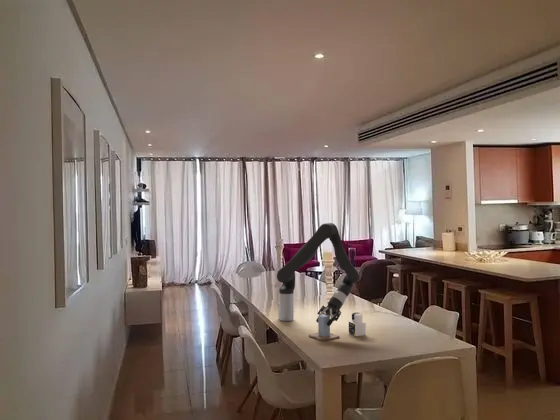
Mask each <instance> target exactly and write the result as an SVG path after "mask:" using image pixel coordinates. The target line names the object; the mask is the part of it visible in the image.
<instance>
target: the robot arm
mask: <svg viewBox="0 0 560 420" xmlns="http://www.w3.org/2000/svg"><path fill="white" fill-rule="evenodd" d="M327 239H329V240H330V243H331V244H332V246H333V252H334V257H335V259H336V263H337V264H338V266H339V268H340V270H341V271H343V272H344V273H345V276H344V277H343V279H342V281H341V283H340V285H339V286H338V287H337V289H336V291H334V293H333V294H332V295H331V297H330V299H329V301H328V302H327V306H325V305H322V306H321V307H320V309H319V310H318V312H317V315H318V316H319V315H323V314H325V315H328V316H330V319H329V321H328V322H327V326H331V325H332V324H333V322H337V321H338V319H339V318H340V316H341V315H342V311H341V308H342V307H343V305H344V303H345V302H346V300H347V298H348V296H350V294H351V290H352V288H353V286H354V285H355V284H356V283H358V282H359V281H360V274H359V272H358V270H357V269H356V268H355V266H354V265H353V264H352V263H351V260H350V257H349V256H348V254H347V252H346V249H345V247H344V245H343V242H342V239H341V235H340V232H339V229H338V227H337V225H336V224H335V223H333V222H325V223H322V224H321V225H320V226H319V227H318V228H317V229H316V231H315V232H314V233H313V235H312V236H311V237H310V238H309V239H308V240H307V241H306V242H305V244H303V245H302V246H301V247H300V248H299V249H298V251H297V252H296V253H295V254H294V255H293V256H292V258H291V259H290V260H289V261H288V262H287V263H286V264H285V265H284V266H282V267H281V268H280V269H279V270H278V271H277V273H276V279H277V281H278V282H280V283H281V284H282V285H281V286H280V287H279V291H278V294H279V297H278V302H279V303H278V311H277V312H278V313H277V315H278V316H277V317H278V320H279V321H281V322H293V321H294V317H295V316H294V315H295V314H294V313H295V311H294V309H295V307H294V303H295V302H294V300H295V299H294V296H295V294H294V292H295V289H296V287H295V286H296V271H297V270H299V269H300V268H302V267H303V266H304V265H306V264H308V263H309V262H310V261H311V260H312V259H313V258H314V256H315V255H316V254H317V252H318V249H319V247H320V246H321V245H322V244H323V243H324V242H325V241H326V240H327ZM315 322H316V323H317V324H318V317H317V318H316V320H315Z"/></svg>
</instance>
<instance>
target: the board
mask: <svg viewBox="0 0 560 420" xmlns="http://www.w3.org/2000/svg"><path fill="white" fill-rule="evenodd" d="M308 337H309V338H312V339H315V340H316V341H320V342H323V343H324V342H329V341H333V340H336V339H340V335H337V334H334V333H331V332H330V336H326V337H322V336H319V335H318V332H316V333H312V334H310V333H309V334H308Z"/></svg>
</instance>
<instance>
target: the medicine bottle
mask: <svg viewBox="0 0 560 420" xmlns="http://www.w3.org/2000/svg"><path fill="white" fill-rule="evenodd" d="M363 317H364V315H363V313H361V312H353V313H351V320H348V333H349V334H350V335H352V336H354V337H360V336H361V337H363V336H366V333H367V332H366V329H367V327H366V326H367V325H366V324H367V323H366V322H365V321H363Z"/></svg>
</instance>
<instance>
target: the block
mask: <svg viewBox="0 0 560 420" xmlns="http://www.w3.org/2000/svg"><path fill="white" fill-rule="evenodd" d="M325 314H326V313H325ZM325 314H322V315H318V316H317V318H318V323H317V325H318V327H317V328H318V332H317V333H318V335H319V336H322V337H326V336H330V333H331V327H330V326H331V325H330V326H327V322H328V321H329V319H331V316H328V315H325Z"/></svg>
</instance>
